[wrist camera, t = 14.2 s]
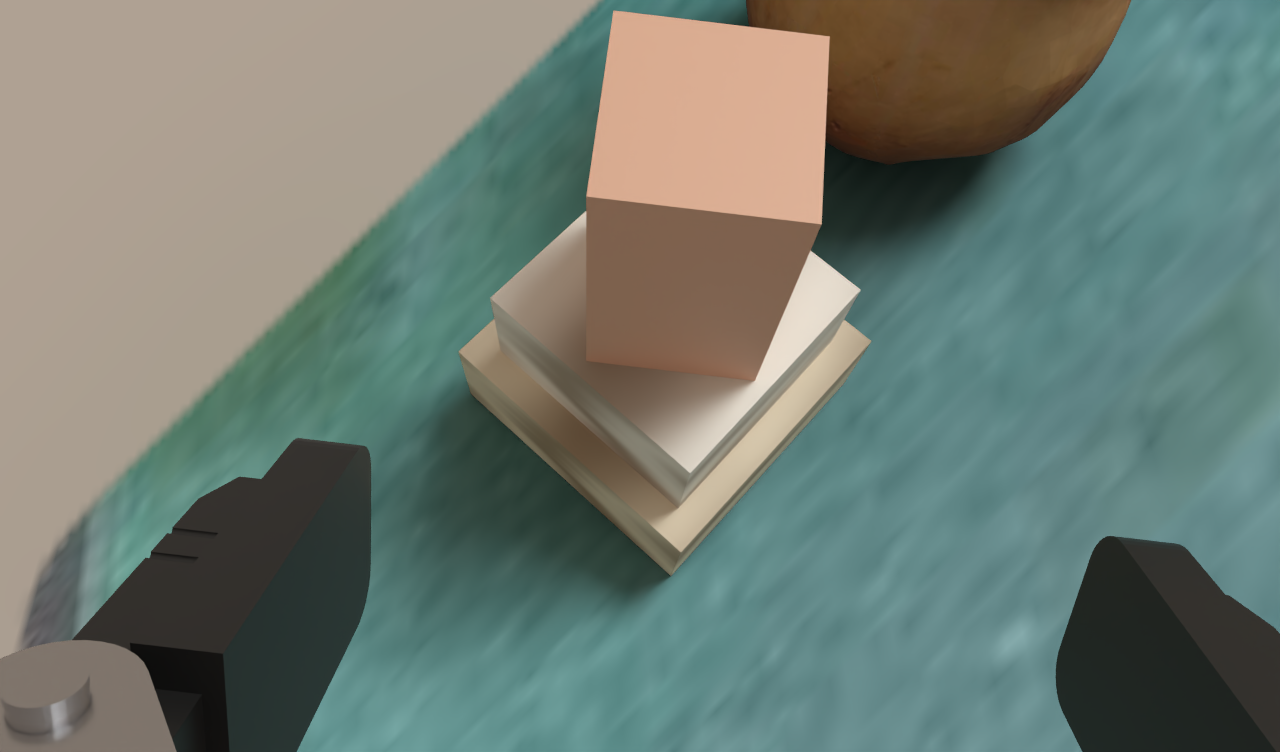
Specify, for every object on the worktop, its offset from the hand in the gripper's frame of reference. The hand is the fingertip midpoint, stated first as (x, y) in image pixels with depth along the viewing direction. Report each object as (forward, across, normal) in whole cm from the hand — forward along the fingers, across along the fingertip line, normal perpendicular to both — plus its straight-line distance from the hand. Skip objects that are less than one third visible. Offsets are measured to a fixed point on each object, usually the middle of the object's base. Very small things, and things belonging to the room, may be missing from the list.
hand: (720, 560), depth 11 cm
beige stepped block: (+25, 0, +9) cm, 27 cm away
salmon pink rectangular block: (+20, 0, +3) cm, 20 cm away
